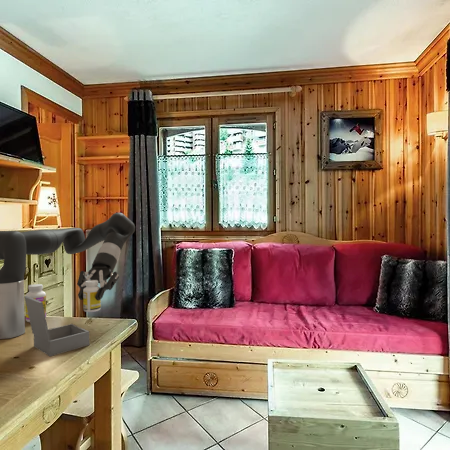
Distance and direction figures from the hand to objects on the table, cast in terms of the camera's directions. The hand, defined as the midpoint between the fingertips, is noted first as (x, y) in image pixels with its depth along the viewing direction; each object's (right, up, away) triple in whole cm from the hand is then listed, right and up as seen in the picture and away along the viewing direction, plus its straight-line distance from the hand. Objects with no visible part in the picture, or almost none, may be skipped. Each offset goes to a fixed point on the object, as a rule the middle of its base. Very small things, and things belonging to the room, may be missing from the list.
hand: (88, 298), depth 115 cm
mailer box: (-4, -11, -13) cm, 18 cm away
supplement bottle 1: (-24, -11, +14) cm, 30 cm away
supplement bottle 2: (0, -4, +2) cm, 5 cm away
